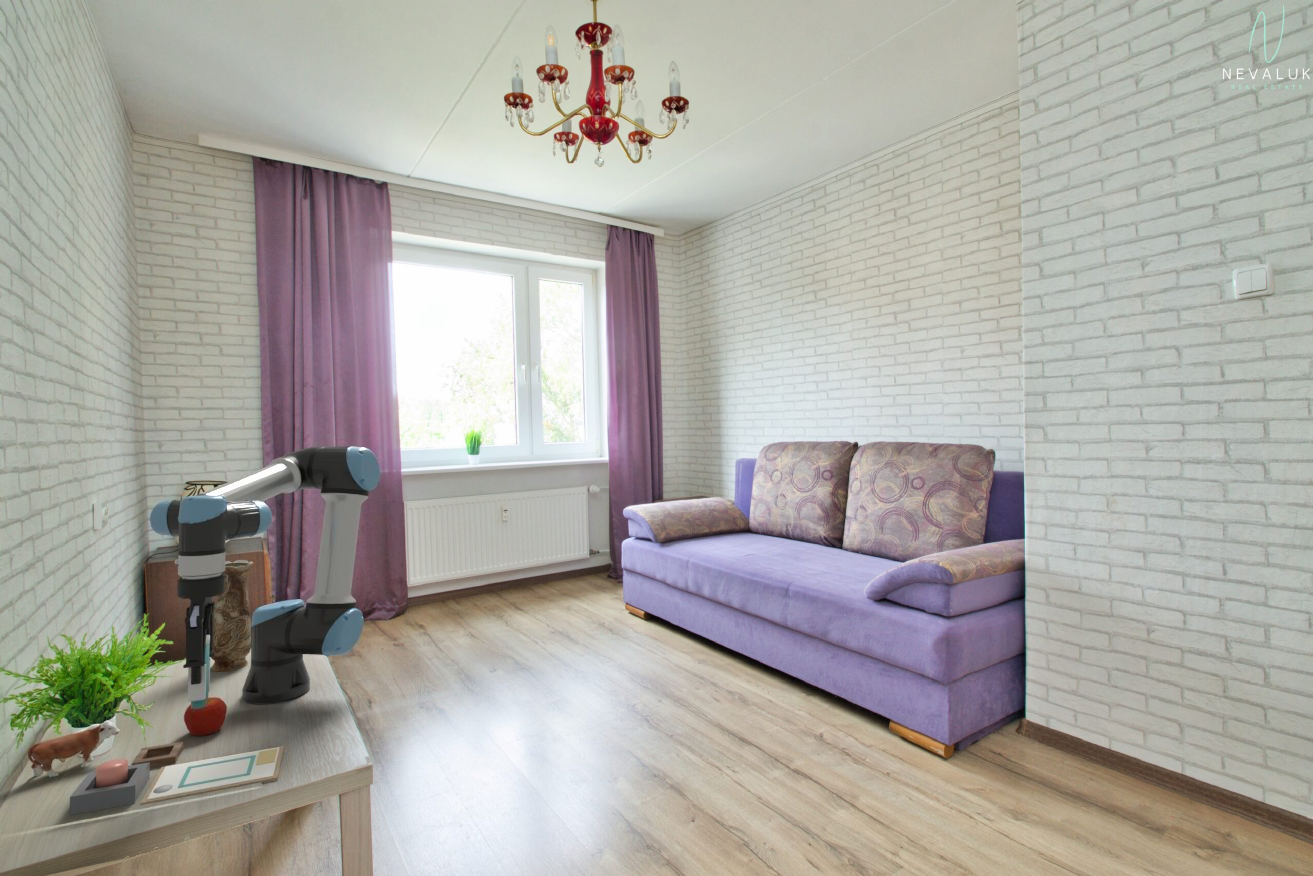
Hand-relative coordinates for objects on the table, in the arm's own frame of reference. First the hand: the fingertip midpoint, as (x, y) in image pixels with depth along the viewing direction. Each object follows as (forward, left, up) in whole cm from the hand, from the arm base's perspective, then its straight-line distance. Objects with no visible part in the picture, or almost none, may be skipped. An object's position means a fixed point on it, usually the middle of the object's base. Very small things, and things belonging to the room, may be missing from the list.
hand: (198, 696), depth 123 cm
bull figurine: (-13, -22, -16) cm, 30 cm away
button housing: (+3, -12, -16) cm, 20 cm away
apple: (-21, -2, -16) cm, 27 cm away
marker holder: (-10, -8, -16) cm, 20 cm away
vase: (-69, -4, -16) cm, 71 cm away
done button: (+3, -12, -13) cm, 18 cm away
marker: (0, 0, -2) cm, 2 cm away
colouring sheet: (+1, +4, -16) cm, 16 cm away
